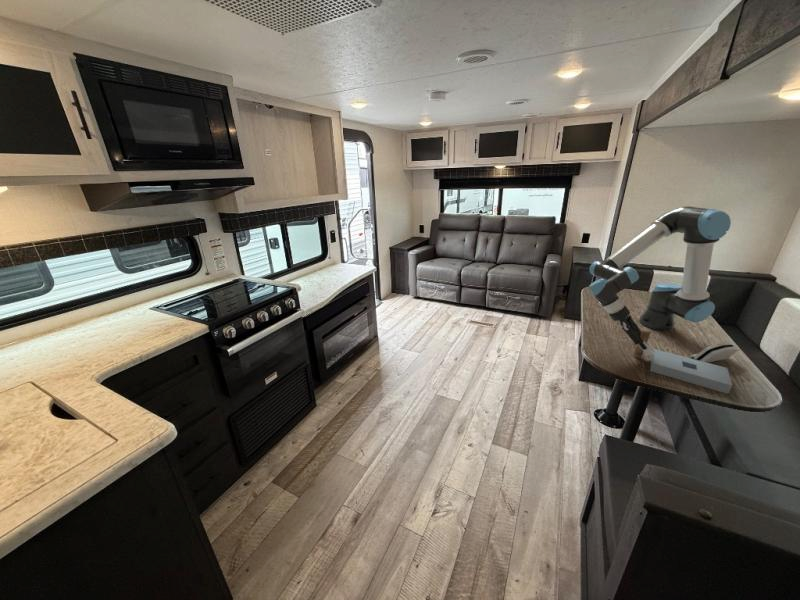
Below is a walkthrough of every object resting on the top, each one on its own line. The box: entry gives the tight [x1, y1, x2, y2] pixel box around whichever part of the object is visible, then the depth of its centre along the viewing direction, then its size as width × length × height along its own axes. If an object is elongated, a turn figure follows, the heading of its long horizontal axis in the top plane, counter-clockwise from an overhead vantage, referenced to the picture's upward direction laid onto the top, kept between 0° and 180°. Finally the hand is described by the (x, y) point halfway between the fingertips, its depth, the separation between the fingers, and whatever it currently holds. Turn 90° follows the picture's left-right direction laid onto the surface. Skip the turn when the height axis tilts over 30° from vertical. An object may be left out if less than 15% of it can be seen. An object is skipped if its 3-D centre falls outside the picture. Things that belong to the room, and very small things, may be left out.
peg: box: [633, 329, 651, 359], centre depth 140 cm, size 3×3×13 cm
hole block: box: [649, 348, 733, 395], centre depth 130 cm, size 24×14×4 cm, turn 52°
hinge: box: [688, 342, 739, 363], centre depth 139 cm, size 17×5×10 cm, turn 104°
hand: (650, 352), depth 139 cm, fingers closed on peg, 3 cm apart
